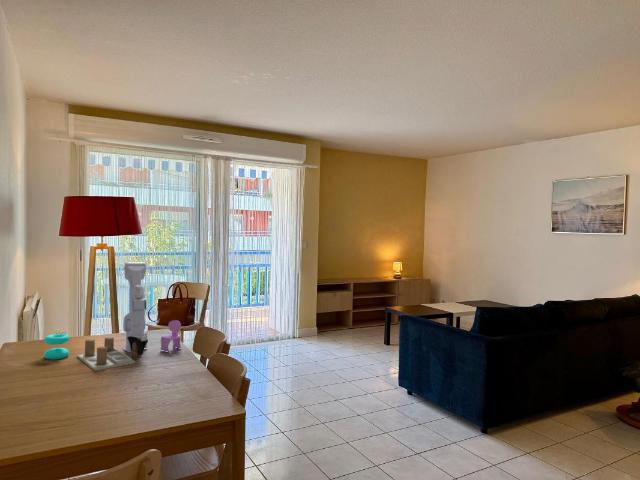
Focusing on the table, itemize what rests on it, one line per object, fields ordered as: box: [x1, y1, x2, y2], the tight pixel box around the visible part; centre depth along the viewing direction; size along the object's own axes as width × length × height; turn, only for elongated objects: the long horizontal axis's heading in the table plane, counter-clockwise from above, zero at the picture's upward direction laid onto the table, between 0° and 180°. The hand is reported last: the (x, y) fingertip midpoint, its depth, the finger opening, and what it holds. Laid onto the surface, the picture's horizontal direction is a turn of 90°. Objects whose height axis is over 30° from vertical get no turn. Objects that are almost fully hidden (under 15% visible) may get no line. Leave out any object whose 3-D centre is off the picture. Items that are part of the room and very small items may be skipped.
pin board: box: [76, 336, 136, 371], centre depth 199 cm, size 17×24×8 cm
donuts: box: [43, 333, 70, 360], centre depth 201 cm, size 10×10×10 cm
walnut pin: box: [131, 342, 142, 359], centre depth 205 cm, size 4×4×7 cm
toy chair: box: [160, 319, 182, 352], centre depth 219 cm, size 8×9×15 cm
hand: (136, 352), depth 205 cm, fingers open, 7 cm apart
